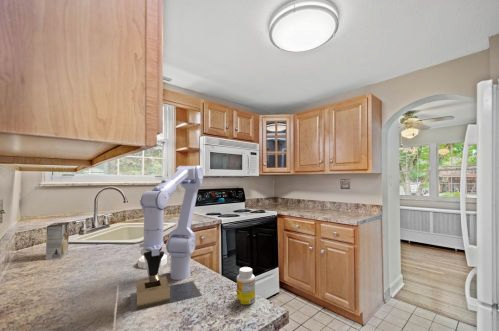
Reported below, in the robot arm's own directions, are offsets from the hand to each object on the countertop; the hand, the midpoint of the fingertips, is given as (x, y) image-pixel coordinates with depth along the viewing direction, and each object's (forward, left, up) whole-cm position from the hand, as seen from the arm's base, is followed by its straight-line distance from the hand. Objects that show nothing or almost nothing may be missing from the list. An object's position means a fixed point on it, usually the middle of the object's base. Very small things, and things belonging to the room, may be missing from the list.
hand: (152, 273), depth 73 cm
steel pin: (0, +1, -2) cm, 2 cm away
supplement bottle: (+15, +25, -9) cm, 30 cm away
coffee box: (-68, -38, -9) cm, 78 cm away
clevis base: (0, +4, -8) cm, 9 cm away
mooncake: (-35, +3, -9) cm, 36 cm away
